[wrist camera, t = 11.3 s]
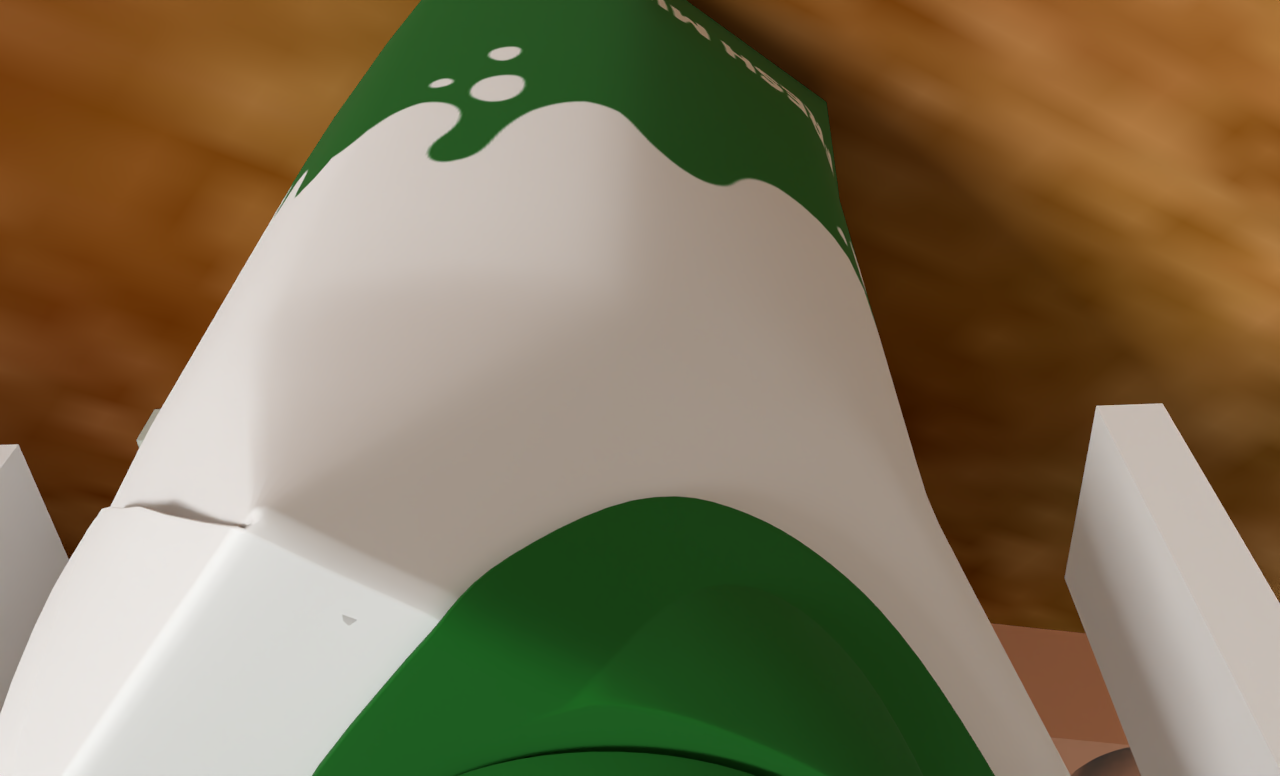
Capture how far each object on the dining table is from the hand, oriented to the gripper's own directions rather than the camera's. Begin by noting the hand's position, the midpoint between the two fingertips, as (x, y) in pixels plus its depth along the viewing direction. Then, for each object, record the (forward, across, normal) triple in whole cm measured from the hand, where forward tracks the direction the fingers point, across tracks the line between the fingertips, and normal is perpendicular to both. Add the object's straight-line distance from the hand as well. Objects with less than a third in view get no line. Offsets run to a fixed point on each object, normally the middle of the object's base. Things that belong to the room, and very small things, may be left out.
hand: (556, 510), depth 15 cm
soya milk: (+12, 0, 0) cm, 12 cm away
